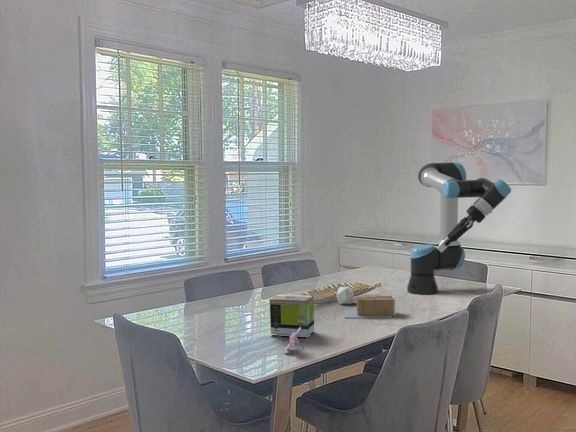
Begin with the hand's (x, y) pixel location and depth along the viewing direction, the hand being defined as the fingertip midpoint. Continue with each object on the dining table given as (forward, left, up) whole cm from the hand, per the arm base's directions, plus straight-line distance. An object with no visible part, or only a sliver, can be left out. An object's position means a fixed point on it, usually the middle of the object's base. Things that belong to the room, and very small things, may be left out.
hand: (439, 250), depth 255 cm
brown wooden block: (0, -19, -24) cm, 30 cm away
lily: (+50, -60, -28) cm, 83 cm away
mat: (0, -31, -28) cm, 41 cm away
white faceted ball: (-21, -40, -28) cm, 53 cm away
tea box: (+29, -62, -28) cm, 74 cm away
